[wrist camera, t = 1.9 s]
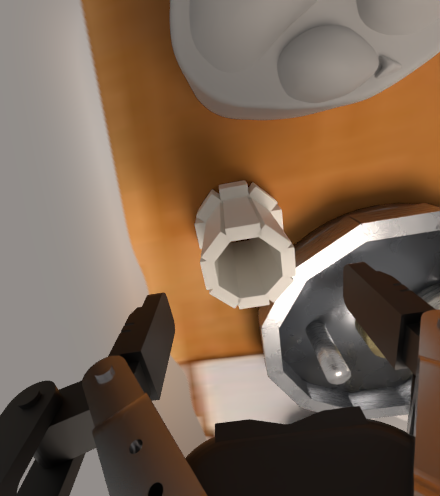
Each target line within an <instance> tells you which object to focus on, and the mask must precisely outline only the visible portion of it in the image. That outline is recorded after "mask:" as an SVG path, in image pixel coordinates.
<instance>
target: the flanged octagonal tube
mask: <svg viewBox="0 0 440 496" xmlns="http://www.w3.org/2000/svg"><path fill="white" fill-rule="evenodd" d="M219 193H220V194H218V193H217V192H216V191H214V190H213V189H212V190H211V192H210V193H209V195H208V196H207V197H206V199H205V200H204V202H203V203H202V205H201V206H200V208H199V209H198V211H197V215H196V221H195V228H196V233H197V237H198V242H199V246H200V249H202V253H201V260H200V264H201V268H202V272H203V277H204V281H205V286H206V290H209V294H211V295H212V296H214V297H216V298H218V299H219V300H221V301H223V302H224V303H226V304H228V305H230V306H231V307H233V308H235V307H236V306H237V305H239V309H244V308H251V307H258V306H265V305H270V304H269V300H270V301H272V302H275V301H276V300H277V299H278V298H279V297H280V296H281V295H282V293H283V292H284V291H285V290H286V289H287V288H288V287H289V286H290V285H291V284H292V283H293V282H294V279H293V277H296V266H295V250H294V246H293V245H292V242H291V241H290V239H289V238H288V237H287V235H286V234H285V232H284V231H283V219H282V209H281V208H280V207H279V206H278V205H277V203H278V202H277V201H276V200H275V199H274V198H273V197H272V196H271V195H269V194H268V193H267V192H265V191H264V190H263V189H261V188H260V187H259V186H257V185H256V184H255V183H253V182H252V183H251V185H250V186H249V188H248V185H247V183H246V181H245V180H243V181H238V182H232V183H226V184H221V185H219ZM250 238H251V239H250ZM243 239H250V240H248V241H242V242H235V243H232V242H231V241H237V240H243Z"/></svg>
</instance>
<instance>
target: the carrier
mask: <svg viewBox="0 0 440 496" xmlns="http://www.w3.org/2000/svg"><path fill="white" fill-rule="evenodd" d="M294 250H295V266H296V277H293V279H294V282H293V283H292V284H291V285H290V286H289V287H288V288H287V289H286V290H285V291H284V292H283V293H282V295H281V296H280V297H279V298H278V299H277V300H276V301H275V302H272V301H270V300H269V304H270V305H265V306H260V307H259V311H258V319H259V330H260V334H261V340H262V347H263V354H264V360H265V365H266V370H267V375H268V377H269V378H270V379H271V380H272V381H273V382H274V383H275V384H276V385H277V386H278V387H280V388H281V389H282V390H283V391H284V392H285V393H286V394H287V395H288V396H289V397H290V398H291V399H292V400H293V401H294V402H296V403H297V404H298V405H299V406H300V407H301V408H303V409H307V410H311V411H315V412H320V411H323V410H330V409H338V408H346V407H354V406H360V408H361V409H362V411H363V413H364V415H365V417H366V419H371V418H380V417H389V416H397V415H406V414H409V403H410V391H411V379H412V371H411V370H410V369H409V368H405V369H398V370H395V369H394V368H393V367H392V366H391V364H390V363H389V362H388V360H387V359H386V358H385V357H384V355H383V354H382V353H381V351H380V350H379V349H378V348H377V346H376V345H375V344H374V342H373V341H372V340H371V339H370V337H369V336H368V335H367V333H366V332H365V331H364V330H363V328H362V327H361V326H360V325H359V323H358V322H357V321H356V319H355V318H354V317H353V316H352V314H351V313H350V312H349V310H348V309H347V307H346V305H345V303H344V298H343V269H344V266H345V265H346V264H352V263H359V262H365V263H367V264H368V265H369V266H370V267H372V268H373V269H374V270H375V271H381V272H383V273H386V274H388V275H391V276H393V277H394V278H395V279H397V280H398V281H399V282H401V284H402V285H405V286H406V287H407V288H409V290H411V291H413V292H414V293H415V294H416V295H418V296H419V297H420V298H422V299H423V300H424V301H426V302H427V303H428V304H430V305H431V306H432V307H433V308H435V309H436V310H440V207H437V206H434V205H431V204H428V203H420V204H401V203H393V204H384V205H376V206H371V207H367V208H363V209H358V210H356V211H353V212H350V213H347V214H344V215H342V216H339V217H337V218H335V219H333V220H331V221H329V222H327V223H325V224H323V225H322V226H320V227H319V228H317V229H315V230H314V231H312V232H311V233H309V234H308V235H307V236H306V237H304V238H303V239H302V240H301V241H299V242H298V243H297V244H296V245H295V246H294Z"/></svg>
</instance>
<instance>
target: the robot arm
mask: <svg viewBox="0 0 440 496" xmlns="http://www.w3.org/2000/svg"><path fill="white" fill-rule="evenodd" d="M343 298H344V303H345V305H346V307H347V309H348V310H349V312H350V313H351V314H352V316H353V317H354V318H355V319H356V321H357V322H358V323H359V325H360V326H361V327H362V328H363V330H364V331H365V332H366V333H367V335H368V336H369V337H370V339H371V340H372V341H373V342H374V344H375V345H376V346H377V348H378V349H379V350H380V351H381V353H382V354H383V355H384V357H385V358H386V359H387V360H388V362H389V363H390V364H391V366H392V367H393V368H394V369H395V370H398V369H405V368H409V369H410V370H411V371H412V379H411V391H410V403H409V415H408V426H407V433H406V432H405V431H403V430H401V429H398V428H396V427H394V426H391V425H389V424H385V423H382V422H379V421H375V420H371V419H366V417H365V415H364V413H363V411H362V409H361V408H360V406H354V407H346V408H338V409H330V410H323V411H320V412H318V413H316V414H313V415H311V416H309V417H306V418H304V419H302V420H299V421H297V422H295V423H292V424H278V423H271V422H264V421H257V420H250V419H249V420H241V421H233V422H225V423H217V424H215V437H213V438H211V439H209V440H207V441H205V442H204V443H202V444H201V445H199V446H198V447H197V448H195V449H194V450H193V451H192V452H191V453H190V454H189V455H188V456H187V457H186V458H185V457H184V455H183V454H182V452H181V450H180V449H179V447H178V445H177V444H176V442H175V440H174V439H173V437H172V435H171V433H170V432H169V430H168V428H167V426H166V425H165V423H164V422H163V420H162V418H161V416H160V415H159V413H158V411H157V410H156V408H155V406H154V404H153V403H152V400H159V399H160V396H161V391H162V387H163V382H164V378H165V373H166V369H167V365H168V360H169V356H170V352H171V347H172V343H173V339H174V334H175V324H174V319H173V316H172V312H171V309H170V306H169V302H168V299H167V296H166V294H165V293H158V294H151V295H148V296H147V297H146V299H145V301H144V304H143V306H142V307H138V308H136V309H135V310H134V312H133V313H132V314H130V315H129V317H128V319H127V321H126V323H125V326H124V327H123V329H122V330H121V333H120V334H119V336H118V338H117V340H116V342H115V344H114V346H113V348H112V350H111V352H110V354H109V356H108V357H106V358H104V359H102V360H100V361H98V362H96V363H95V364H94V365H93V366H92V367H90V369H88V371H87V372H86V373H85V375H84V377H83V379H82V381H80V382H77V383H75V384H72V385H70V386H67V387H65V388H62V389H60V390H58V389H57V387H56V385H55V384H54V383H53V382H52V381H42V382H39V383H36V384H34V385H32V386H30V387H28V388H26V389H25V390H23V391H22V392H21V393H19V394H18V395H17V396H16V397H15V398H14V399H13V400H12V401H11V402H10V403H9V404H8V406H7V407H6V408H5V410H4V411H3V413H2V414H1V415H0V496H69V495H70V492H71V490H72V487H73V484H74V482H75V479H76V477H77V474H78V471H79V469H80V466H81V463H82V461H83V458H84V455H85V453H86V452H88V451H90V450H92V449H94V448H97V452H98V456H99V459H100V463H101V466H102V470H103V473H104V477H105V481H106V484H107V488H108V491H109V495H110V496H440V310H436V309H435V308H433V307H432V306H431V305H430V304H428V303H427V302H426V301H424V300H423V299H422V298H420V297H419V296H418V295H416V294H415V293H414V292H413V291H411V290H409V288H407V287H406V286H405V285H402V284H401V282H399V281H398V280H397V279H395V278H394V277H393V276H391V275H388V274H386V273H383V272H381V271H375V270H374V269H373V268H372V267H370V266H369V265H368V264H367V263H365V262H359V263H352V264H346V265H345V266H344V269H343ZM32 457H34V458H35V461H34V463H33V465H32V466H31V468H30V470H29V472H28V474H27V476H26V478H25V480H24V481H23V483H22V485H21V487H20V489H19V491H18V493H17V488H18V485H19V482H20V480H21V478H22V476H23V474H24V472H25V470H26V468H27V467H28V465H29V463H30V461H31V459H32ZM16 494H17V495H16Z"/></svg>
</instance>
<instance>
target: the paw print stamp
mask: <svg viewBox="0 0 440 496" xmlns="http://www.w3.org/2000/svg"><path fill="white" fill-rule="evenodd" d="M170 33H171V41H172V47H173V51H174V54H175V57H176V59H177V62H178V64H179V66H180V68H181V70H182V72H183V74H184V76H185V78H186V79H187V81H188V83H189V85H190V87H191V88H192V90H193V92H194V94H195V96H196V97H197V99H198V100H199V101H200V102H201V103H202V104H203V105H204V106H205V107H206V108H207V109H209V110H210V111H212V112H213V113H215V114H217V115H220V116H222V117H226V118H231V119H246V120H275V119H286V118H294V117H300V116H305V115H309V114H313V113H317V112H321V111H325V110H329V109H332V108H336V107H340V106H345V105H349V104H352V103H356V102H360V101H363V100H365V99H368V98H370V97H372V96H374V95H376V94H378V93H380V92H381V91H383V90H385V89H387V88H388V87H390V86H392V85H393V84H395V83H397V82H398V81H400V80H401V79H403V78H404V77H406V76H407V75H409V74H410V73H412V72H413V71H414V70H416V69H417V68H419V67H420V66H421V65H423V64H424V63H426V62H427V61H428V60H430V59H431V58H432V57H434V56H435V55H436V54H438V53H439V52H440V0H170Z"/></svg>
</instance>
